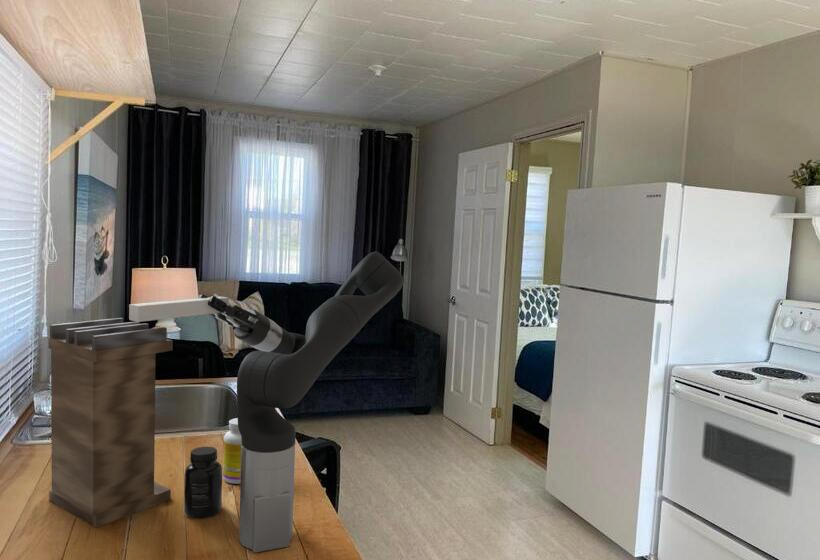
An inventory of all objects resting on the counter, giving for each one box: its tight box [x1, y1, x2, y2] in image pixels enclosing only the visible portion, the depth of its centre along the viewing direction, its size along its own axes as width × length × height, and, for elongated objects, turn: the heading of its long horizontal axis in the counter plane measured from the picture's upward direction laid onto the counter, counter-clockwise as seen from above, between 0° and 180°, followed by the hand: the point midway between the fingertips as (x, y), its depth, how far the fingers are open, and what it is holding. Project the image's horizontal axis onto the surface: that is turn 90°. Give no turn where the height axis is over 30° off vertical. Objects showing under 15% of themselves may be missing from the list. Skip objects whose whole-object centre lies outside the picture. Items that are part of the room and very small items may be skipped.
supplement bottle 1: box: [183, 446, 223, 520], centre depth 117 cm, size 7×7×12 cm
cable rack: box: [47, 317, 174, 528], centre depth 119 cm, size 15×17×34 cm
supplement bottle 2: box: [222, 417, 242, 485], centre depth 132 cm, size 7×7×13 cm
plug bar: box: [128, 296, 230, 323], centre depth 125 cm, size 21×3×3 cm, turn 146°
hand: (205, 299), depth 129 cm, fingers closed on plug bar, 3 cm apart
